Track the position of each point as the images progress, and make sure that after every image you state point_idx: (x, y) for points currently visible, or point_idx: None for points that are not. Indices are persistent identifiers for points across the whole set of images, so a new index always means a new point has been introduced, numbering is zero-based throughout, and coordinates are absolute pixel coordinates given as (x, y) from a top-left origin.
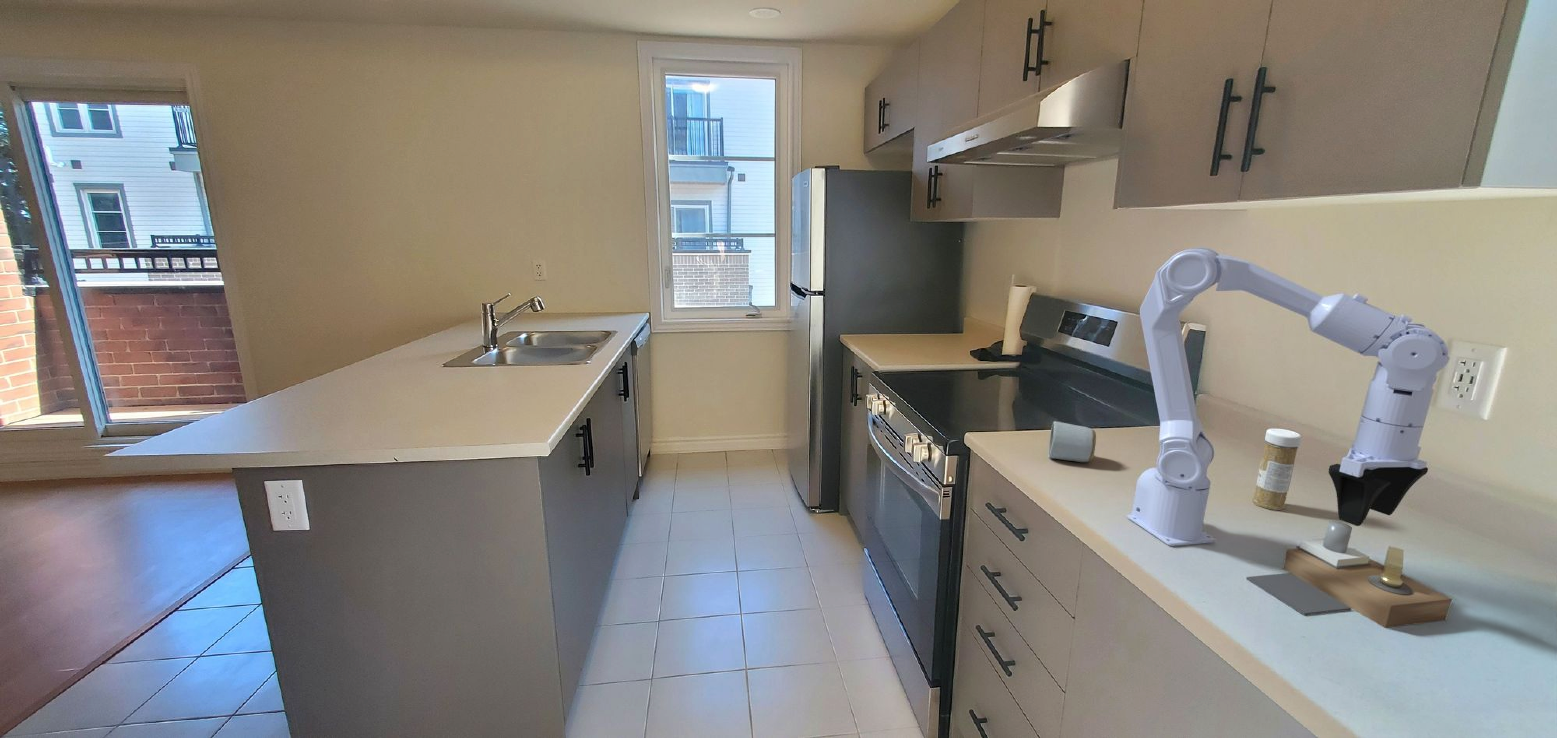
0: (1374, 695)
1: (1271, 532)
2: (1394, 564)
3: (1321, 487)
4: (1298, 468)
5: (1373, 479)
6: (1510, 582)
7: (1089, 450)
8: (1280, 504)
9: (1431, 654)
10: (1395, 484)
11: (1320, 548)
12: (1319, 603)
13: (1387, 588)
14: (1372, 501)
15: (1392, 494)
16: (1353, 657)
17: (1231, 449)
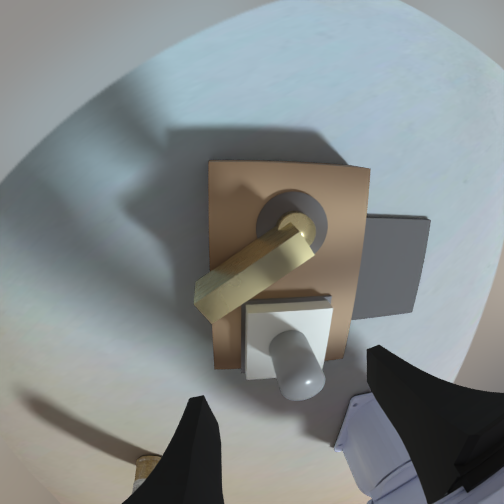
0: (479, 85)
1: (228, 420)
2: (306, 246)
3: (48, 463)
4: (47, 484)
5: (491, 442)
6: None
7: None
8: (151, 462)
9: (350, 95)
10: (201, 486)
11: (317, 347)
12: (389, 237)
13: (318, 215)
14: (425, 389)
15: (202, 454)
16: (451, 131)
17: None
